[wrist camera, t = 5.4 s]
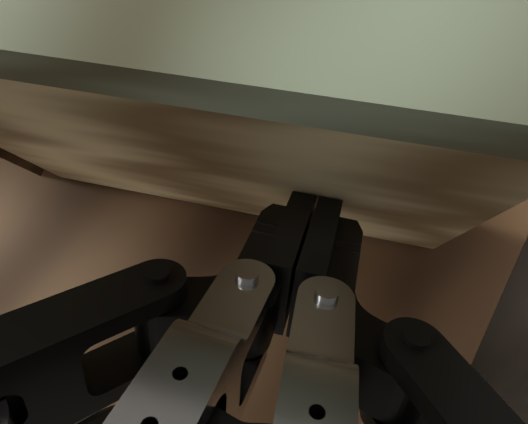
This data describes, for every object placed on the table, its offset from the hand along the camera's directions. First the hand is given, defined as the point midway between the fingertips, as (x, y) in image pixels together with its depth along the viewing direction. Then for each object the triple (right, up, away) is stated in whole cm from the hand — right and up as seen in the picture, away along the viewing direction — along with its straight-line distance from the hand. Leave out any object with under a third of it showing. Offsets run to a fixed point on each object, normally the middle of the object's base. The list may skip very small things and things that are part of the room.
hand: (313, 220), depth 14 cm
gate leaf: (-3, +1, +5) cm, 6 cm away
